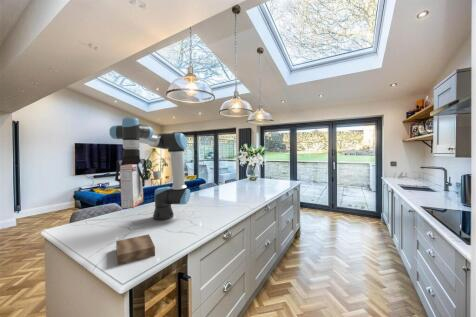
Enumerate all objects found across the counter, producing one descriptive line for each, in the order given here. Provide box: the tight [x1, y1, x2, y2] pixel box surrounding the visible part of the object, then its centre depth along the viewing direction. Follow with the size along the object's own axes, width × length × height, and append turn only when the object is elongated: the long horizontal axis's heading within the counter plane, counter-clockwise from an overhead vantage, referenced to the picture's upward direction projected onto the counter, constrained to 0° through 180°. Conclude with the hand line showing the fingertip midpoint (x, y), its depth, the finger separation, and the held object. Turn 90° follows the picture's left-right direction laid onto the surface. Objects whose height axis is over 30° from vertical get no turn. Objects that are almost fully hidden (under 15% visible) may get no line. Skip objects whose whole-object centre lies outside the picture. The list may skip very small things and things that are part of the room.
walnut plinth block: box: [115, 233, 156, 266], centre depth 106 cm, size 16×18×5 cm
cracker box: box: [119, 163, 144, 210], centre depth 105 cm, size 14×6×21 cm, turn 6°
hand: (132, 193), depth 106 cm, fingers closed on cracker box, 8 cm apart
